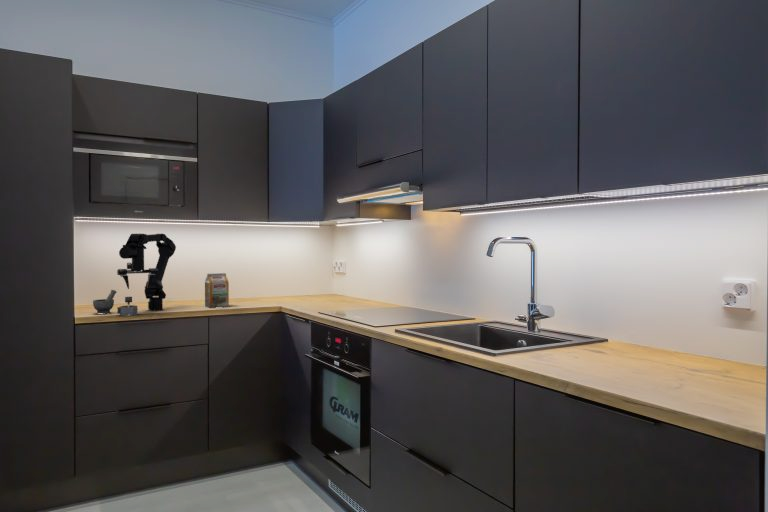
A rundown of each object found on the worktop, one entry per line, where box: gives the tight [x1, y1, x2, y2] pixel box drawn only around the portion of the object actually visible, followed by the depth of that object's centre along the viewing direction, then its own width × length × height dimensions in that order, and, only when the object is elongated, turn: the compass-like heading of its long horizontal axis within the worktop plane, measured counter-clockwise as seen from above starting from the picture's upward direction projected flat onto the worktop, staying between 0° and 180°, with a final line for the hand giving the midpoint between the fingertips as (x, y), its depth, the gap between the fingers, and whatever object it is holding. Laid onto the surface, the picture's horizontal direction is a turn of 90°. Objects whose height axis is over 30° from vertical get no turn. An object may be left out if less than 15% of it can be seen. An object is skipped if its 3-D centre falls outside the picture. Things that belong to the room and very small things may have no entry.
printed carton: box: [204, 272, 230, 309], centre depth 296 cm, size 11×11×19 cm
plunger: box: [124, 296, 133, 307], centre depth 261 cm, size 5×5×9 cm
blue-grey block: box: [116, 304, 139, 317], centre depth 261 cm, size 9×8×4 cm
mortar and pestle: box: [92, 289, 118, 314], centre depth 267 cm, size 11×9×12 cm
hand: (138, 288), depth 266 cm, fingers open, 9 cm apart
